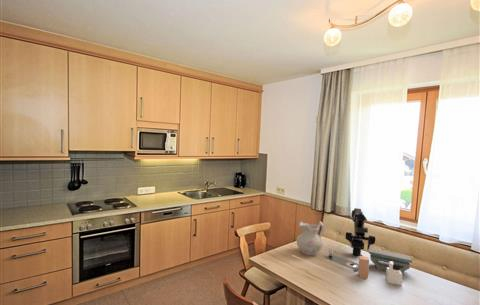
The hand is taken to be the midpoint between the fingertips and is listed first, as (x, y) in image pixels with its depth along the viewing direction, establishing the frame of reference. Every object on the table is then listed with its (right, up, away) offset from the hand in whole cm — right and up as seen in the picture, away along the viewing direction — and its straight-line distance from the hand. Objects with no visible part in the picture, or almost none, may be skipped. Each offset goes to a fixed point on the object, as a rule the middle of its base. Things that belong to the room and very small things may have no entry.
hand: (360, 248), depth 167 cm
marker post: (-2, -15, -8) cm, 17 cm away
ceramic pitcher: (-27, -13, +25) cm, 39 cm away
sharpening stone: (+21, -16, +3) cm, 27 cm away
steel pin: (-14, -13, +17) cm, 26 cm away
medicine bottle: (+15, -16, -13) cm, 25 cm away
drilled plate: (-7, -14, +10) cm, 19 cm away
